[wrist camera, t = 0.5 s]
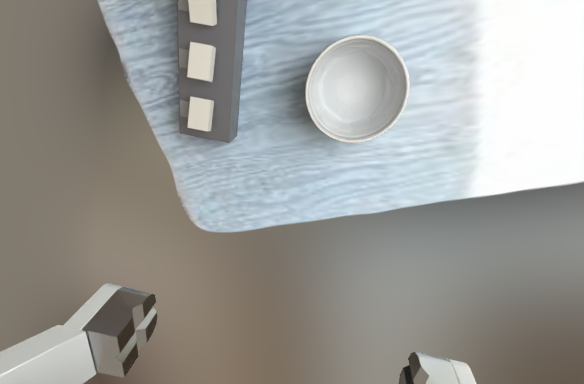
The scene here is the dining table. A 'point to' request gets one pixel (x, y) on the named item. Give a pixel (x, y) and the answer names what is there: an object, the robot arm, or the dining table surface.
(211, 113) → the block
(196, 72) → the rocker
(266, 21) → the dining table surface
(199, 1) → the rocker
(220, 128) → the power strip
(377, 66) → the ramekin
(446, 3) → the dining table surface
